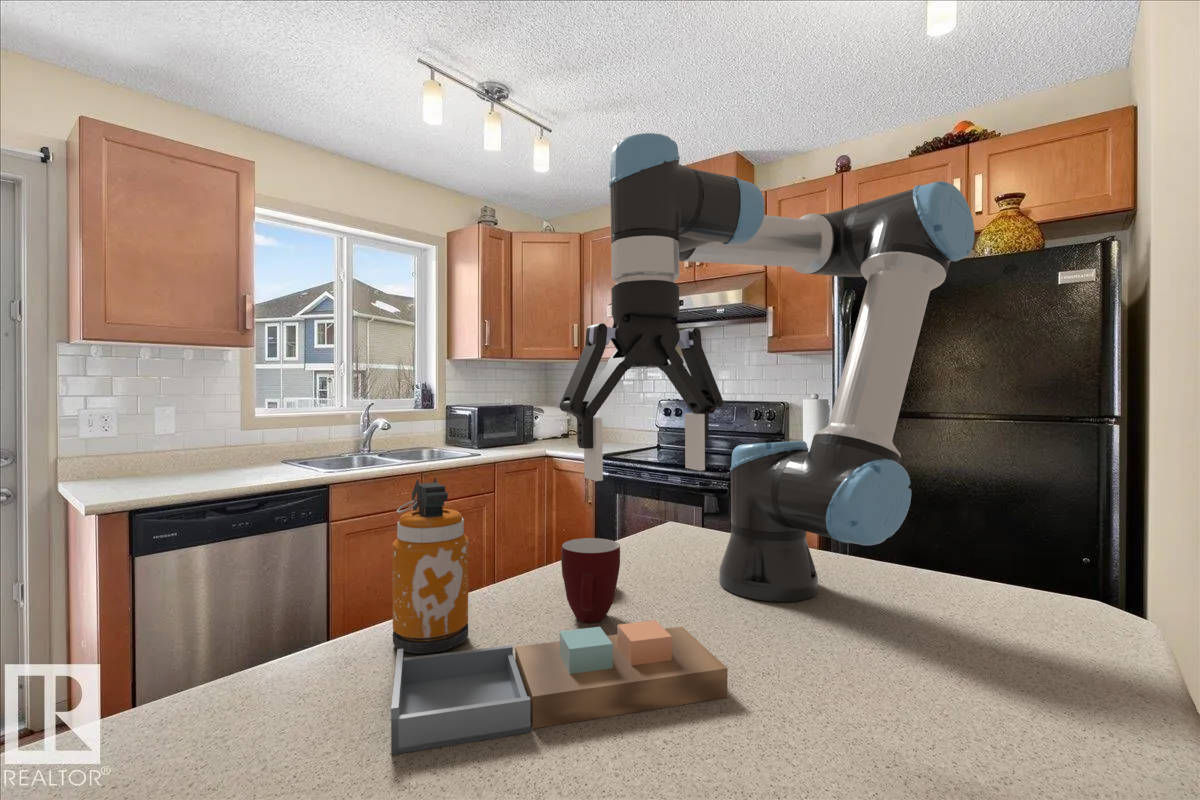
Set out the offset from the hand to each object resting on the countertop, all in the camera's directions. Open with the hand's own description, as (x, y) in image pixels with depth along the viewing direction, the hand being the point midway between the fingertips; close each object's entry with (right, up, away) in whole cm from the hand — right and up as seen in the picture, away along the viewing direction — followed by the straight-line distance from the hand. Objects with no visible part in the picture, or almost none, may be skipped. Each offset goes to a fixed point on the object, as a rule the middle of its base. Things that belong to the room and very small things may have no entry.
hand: (646, 474), depth 66 cm
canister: (-27, -22, +8) cm, 35 cm away
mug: (-6, -22, +14) cm, 27 cm away
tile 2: (-1, -19, -3) cm, 19 cm away
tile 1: (-7, -19, -4) cm, 21 cm away
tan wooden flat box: (-3, -22, -3) cm, 22 cm away
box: (-19, -22, -8) cm, 30 cm away
